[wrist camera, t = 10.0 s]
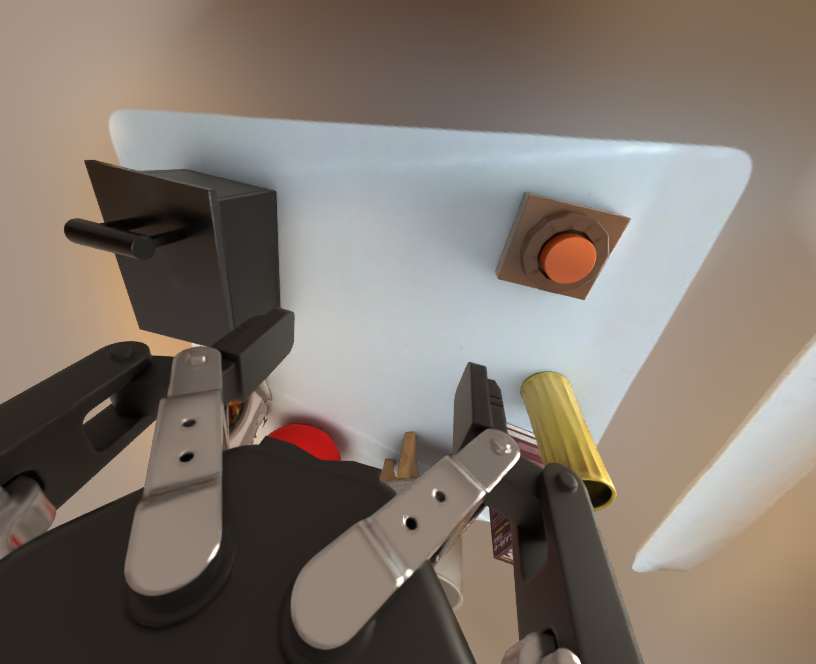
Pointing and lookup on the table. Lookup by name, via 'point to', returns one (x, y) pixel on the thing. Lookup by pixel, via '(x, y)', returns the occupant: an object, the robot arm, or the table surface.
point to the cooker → (244, 241)
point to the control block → (543, 223)
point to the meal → (247, 416)
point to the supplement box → (498, 522)
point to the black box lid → (162, 250)
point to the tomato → (308, 440)
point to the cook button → (568, 258)
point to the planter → (452, 562)
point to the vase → (566, 434)
